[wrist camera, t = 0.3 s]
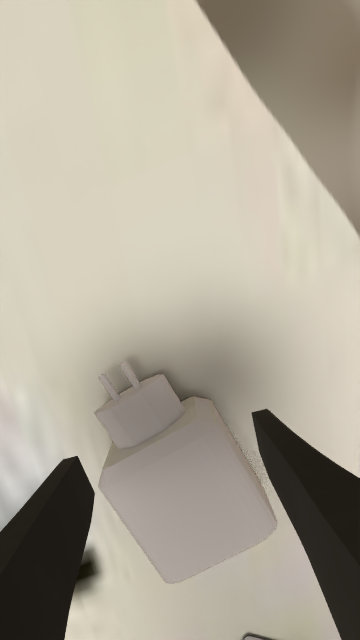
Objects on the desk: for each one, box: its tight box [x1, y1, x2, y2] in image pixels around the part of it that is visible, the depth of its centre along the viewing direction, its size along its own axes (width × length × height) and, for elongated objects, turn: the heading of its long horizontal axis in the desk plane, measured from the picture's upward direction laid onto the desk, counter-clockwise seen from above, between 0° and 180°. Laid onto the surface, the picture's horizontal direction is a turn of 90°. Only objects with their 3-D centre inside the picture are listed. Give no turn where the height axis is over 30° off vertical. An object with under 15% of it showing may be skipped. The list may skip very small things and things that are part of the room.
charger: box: [94, 362, 277, 584], centre depth 20 cm, size 5×9×15 cm
